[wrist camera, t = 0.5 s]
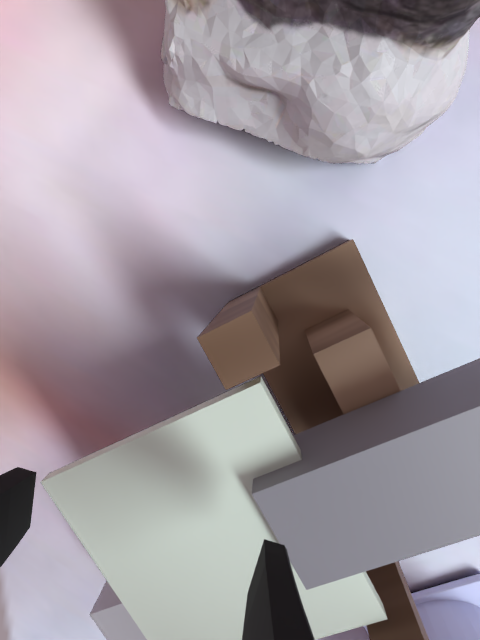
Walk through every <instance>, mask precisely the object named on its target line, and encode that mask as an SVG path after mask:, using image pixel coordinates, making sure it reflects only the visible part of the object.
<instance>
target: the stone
mask: <svg viewBox="0 0 480 640" xmlns="http://www.w3.org/2000/svg"><path fill="white" fill-rule="evenodd" d="M165 5H166V11H165V27H164V35H163V41H162V48H161V60H162V61H163V62H164V73H163V79H164V84H165V88H166V91H167V93H168V96H169V105H171V106H172V107H174V108H177V109H178V110H184V111H185V112H186V113H187V114H189V115H191V116H197V118H202V119H204V120H205V121H206V120H208V121H211V122H214V123H216V122H217V121H218V123H219V124H221V125H223V126H229V127H230V128H233V129H236V130H243V129H245V132H247V133H250V134H252V135H253V136H254V135H255V136H257V137H260V138H261V139H262V138H265V139H267V141H269V142H271V141H273V142H274V144H275V145H280V146H281V147H283V148H285V149H290V150H291V151H294V152H296V153H298V154H300V155H303V156H305V157H309V156H311V157H310V158H313V159H314V160H315V159H316V158H318V160H319V161H320V160H321V161H323V162H329V163H352V162H355V163H357V164H362V163H363V162H364V163H365V164H367V163H368V164H369V163H373V162H374V161H375V162H374V163H376V162H377V161H379V160H381V159H382V158H383V157H385V156H386V155H389V154H391V153H394V152H396V151H398V150H400V149H401V148H403V147H404V146H406V145H407V144H408V143H410V142H411V141H413V140H414V139H416V138H417V137H418V136H420V135H421V134H422V133H423V131H424V130H425V128H426V127H427V126H429V125H430V124H431V123H433V122H434V121H435V120H437V119H438V118H439V117H440V116H442V115H443V114H444V112H445V111H446V110H447V109H448V108H449V107H450V105H451V104H452V103H453V101H454V100H455V98H456V96H457V94H458V91H459V88H460V85H461V82H462V79H463V77H464V74H465V71H466V65H467V57H468V48H469V34H470V28H471V26H472V25H473V24H474V22H475V21H476V20H477V19H478V18H479V17H480V0H165Z"/></svg>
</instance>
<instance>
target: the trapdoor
mask: <svg viewBox="0 0 480 640" xmlns="http://www.w3.org/2000/svg"><path fill="white" fill-rule="evenodd" d="M41 484H42V485H43V487H44V488H45V490H46V491H47V493H48V494H49V496H50V497H51V499H52V500H53V502H54V503H55V505H56V506H57V508H58V509H59V511H60V512H61V513H62V515H63V516H64V518H65V519H66V521H67V522H68V524H69V525H70V527H71V528H72V530H73V531H74V533H75V534H76V536H77V537H78V539H79V540H80V542H81V543H82V545H83V546H84V547H85V549H86V550H87V552H88V553H89V555H90V556H91V558H92V559H93V561H94V562H95V564H96V565H97V567H98V568H99V570H100V571H101V573H102V574H103V576H104V577H105V579H106V580H107V582H108V583H109V584H110V586H111V587H112V589H113V590H114V592H115V593H116V595H117V596H118V598H119V599H120V601H121V602H122V604H123V605H124V607H125V608H126V610H127V611H128V613H129V614H130V616H131V617H132V618H133V620H134V621H135V623H136V624H137V626H138V627H139V629H140V630H141V632H142V633H143V635H144V636H145V638H146V639H147V640H242V635H243V626H244V618H245V610H246V602H247V594H248V590H249V587H250V583H251V580H252V577H253V574H254V570H255V567H256V564H257V561H258V557H259V554H260V551H261V548H262V545H263V541H264V539H265V540H269V541H272V542H276V543H279V544H282V545H285V547H286V549H287V552H288V556H289V560H290V564H291V568H292V571H293V575H294V578H295V582H296V585H297V588H298V592H299V595H300V598H301V601H302V604H303V607H304V610H305V613H306V616H307V619H308V622H309V625H310V627H311V630H312V633H313V636H314V639H315V640H316V639H320V638H323V637H327V636H330V635H334V634H337V633H341V632H344V631H348V630H351V629H355V628H358V627H362V626H366V625H369V624H373V623H376V622H380V621H383V620H387V615H386V612H385V609H384V606H383V603H382V601H381V599H380V597H379V595H378V593H377V592H376V590H375V588H374V586H373V584H372V582H371V580H370V579H369V577H368V575H367V573H366V571H368V570H372V569H375V568H378V567H381V566H384V565H387V564H391V563H394V562H397V561H400V560H403V559H406V558H410V557H413V556H416V555H419V554H422V553H425V552H429V551H432V550H435V549H438V548H441V547H444V546H448V545H451V544H454V543H457V542H460V541H463V540H467V539H470V538H473V537H476V536H479V535H480V359H477V360H475V361H472V362H470V363H467V364H465V365H463V366H460V367H458V368H455V369H453V370H450V371H448V372H446V373H443V374H441V375H438V376H436V377H433V378H431V379H429V380H426V381H424V382H421V383H419V384H416V385H414V386H412V387H409V388H407V389H404V390H402V391H399V392H397V393H395V394H392V395H390V396H387V397H385V398H383V399H380V400H378V401H375V402H373V403H370V404H368V405H366V406H363V407H361V408H358V409H356V410H353V411H351V412H349V413H346V414H344V415H341V416H339V417H336V418H334V419H332V420H329V421H327V422H324V423H322V424H319V425H317V426H315V427H312V428H310V429H307V430H305V431H302V432H300V433H298V434H295V435H292V433H291V431H290V429H289V427H288V425H287V424H286V422H285V420H284V418H283V416H282V414H281V412H280V411H279V409H278V407H277V405H276V403H275V401H274V399H273V397H272V396H271V394H270V392H269V390H268V388H267V386H266V384H265V383H264V381H263V379H262V377H261V376H260V377H258V378H256V379H254V380H252V381H249V382H247V383H245V384H243V385H241V386H238V387H236V388H234V389H232V390H230V391H228V392H225V393H223V394H221V395H219V396H217V397H214V398H212V399H210V400H208V401H206V402H203V403H201V404H199V405H197V406H195V407H193V408H190V409H188V410H186V411H184V412H182V413H179V414H177V415H175V416H173V417H171V418H168V419H166V420H164V421H162V422H160V423H158V424H155V425H153V426H151V427H149V428H147V429H144V430H142V431H140V432H138V433H136V434H133V435H131V436H129V437H127V438H125V439H123V440H120V441H118V442H116V443H114V444H112V445H109V446H107V447H105V448H103V449H101V450H98V451H96V452H94V453H92V454H90V455H88V456H85V457H83V458H81V459H79V460H77V461H74V462H72V463H70V464H68V465H66V466H63V467H61V468H59V469H57V470H55V471H53V472H50V473H49V474H48V475H47V476H46V477H45V478H44V479H43V480H42V481H41Z"/></svg>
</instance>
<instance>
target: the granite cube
mask: <svg viewBox="0 0 480 640" xmlns="http://www.w3.org/2000/svg"><path fill="white" fill-rule="evenodd" d="M90 616H91V617H92V619H93V620H94V622H95V623H96V625H97V626H98V627H99V629H100V630H101V632H102V633H103V635H104V636H105V638H106V639H107V640H147V639H146V638H145V636H144V635H143V633H142V632H141V630H140V629H139V627H138V626H137V624H136V623H135V621H134V620H133V618H132V617H131V616H130V614H129V613H128V611H127V610H126V608H125V607H124V605H123V604H122V602H121V601H120V599H119V598H118V596H117V595H116V593H115V592H114V590H113V589H112V587H111V586H110V584H109V583H108V582H107V581H106V583H105V585H104V587H103V589H102V591H101V593H100V595H99V597H98V599H97V601H96V603H95V605H94V607H93V609H92V611H91V613H90Z"/></svg>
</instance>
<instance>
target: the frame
mask: <svg viewBox="0 0 480 640" xmlns="http://www.w3.org/2000/svg"><path fill="white" fill-rule="evenodd" d="M197 339H198V341H199V343H200V344H201V346H202V348H203V350H204V352H205V353H206V355H207V357H208V359H209V361H210V362H211V364H212V366H213V368H214V370H215V371H216V373H217V375H218V377H219V379H220V380H221V382H222V384H223V386H224V388H225V389H226V390H227V389H229V388H231V387H234V386H236V385H238V384H240V383H242V382H244V381H247V380H249V379H251V378H253V377H255V376H258V375H260V374H262V373H263V374H264V376H265V378H266V380H267V382H268V384H269V386H270V388H271V389H272V391H273V393H274V395H275V397H276V399H277V401H278V403H279V404H280V406H281V408H282V410H283V412H284V414H285V416H286V417H287V419H288V421H289V423H290V425H291V427H292V429H293V431H294V432H295V434H298V433H300V432H302V431H305V430H307V429H310V428H312V427H315V426H317V425H319V424H322V423H324V422H327V421H329V420H332V419H334V418H336V417H339V416H341V415H344V414H346V413H349V412H351V411H353V410H356V409H358V408H361V407H363V406H366V405H368V404H370V403H373V402H375V401H378V400H380V399H383V398H385V397H387V396H390V395H392V394H395V393H397V392H399V391H402V390H404V389H407V388H409V387H412V386H414V385H416V384H419V381H418V379H417V377H416V375H415V372H414V370H413V368H412V366H411V364H410V362H409V359H408V357H407V355H406V353H405V351H404V349H403V346H402V344H401V342H400V340H399V338H398V336H397V333H396V331H395V329H394V327H393V325H392V323H391V320H390V318H389V316H388V314H387V312H386V310H385V307H384V305H383V303H382V301H381V299H380V297H379V294H378V292H377V290H376V288H375V286H374V284H373V281H372V279H371V277H370V275H369V273H368V271H367V268H366V266H365V264H364V262H363V260H362V258H361V255H360V253H359V251H358V249H357V247H356V245H355V242H354V240H348V241H346V242H344V243H343V244H341V245H339V246H337V247H335V248H333V249H331V250H329V251H327V252H325V253H323V254H321V255H319V256H317V257H315V258H313V259H311V260H309V261H307V262H306V263H304V264H302V265H300V266H298V267H296V268H294V269H292V270H290V271H288V272H286V273H284V274H282V275H280V276H278V277H276V278H274V279H272V280H270V281H269V282H267V283H265V284H263V285H261V286H259V287H257V288H255V289H253V290H251V291H249V292H247V293H245V294H243V295H241V296H239V297H237V298H235V299H233V300H232V301H230V302H228V303H227V304H226V305H225V306H224V308H223V309H222V310H221V311H220V312H219V313H218V314H217V316H216V317H215V318H214V319H213V320H212V321H211V322H210V324H209V325H208V326H207V327H206V328H205V329H204V330H203V331H202V333H201V334H200V335H199V336H198V337H197ZM366 573H367V575H368V577H369V579H370V580H371V582H372V584H373V586H374V588H375V590H376V592H377V593H378V595H379V597H380V599H381V601H382V603H383V606H384V609H385V612H386V615H387V620H383V621H380V622H376V623H373V624H369V625H366V626H367V630H368V634H369V638H370V640H429V638H428V635H427V633H426V630H425V628H424V625H423V623H422V620H421V618H420V615H419V612H418V610H417V607H416V605H415V602H414V600H413V597H412V595H411V592H410V590H409V587H408V585H407V582H406V580H405V577H404V574H403V572H402V569H401V567H400V564H399V562H398V561H397V562H394V563H391V564H387V565H384V566H381V567H378V568H375V569H372V570H368V571H366Z"/></svg>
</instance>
